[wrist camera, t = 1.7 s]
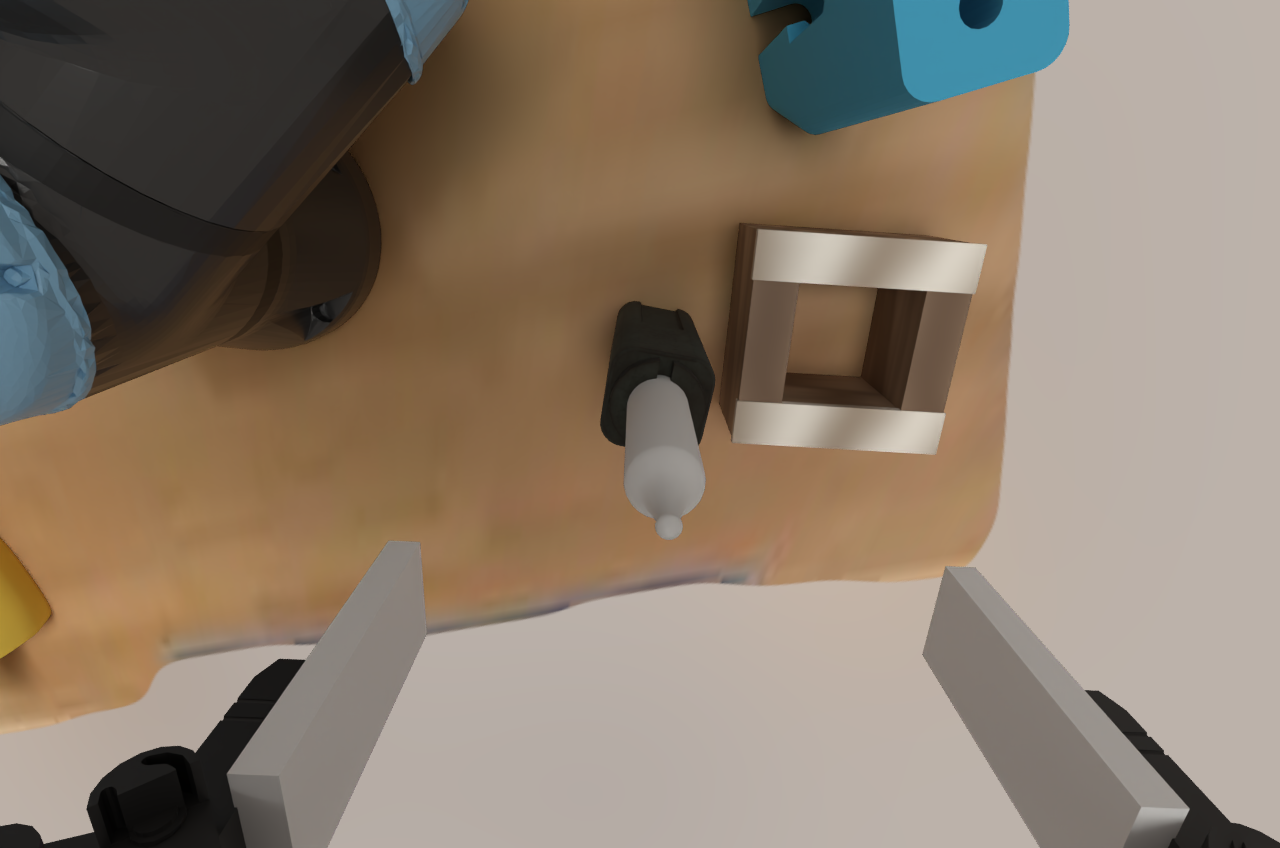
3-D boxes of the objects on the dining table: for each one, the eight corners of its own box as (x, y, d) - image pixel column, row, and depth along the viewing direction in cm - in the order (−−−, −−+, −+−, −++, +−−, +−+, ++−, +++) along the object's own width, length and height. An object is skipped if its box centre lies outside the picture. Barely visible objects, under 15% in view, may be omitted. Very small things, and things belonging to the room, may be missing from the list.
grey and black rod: (697, 312, 42) (772, 472, 19) (680, 385, 44) (731, 614, 20) (620, 297, 42) (600, 442, 18) (607, 371, 43) (573, 589, 20)
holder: (717, 404, 44) (732, 442, 38) (738, 222, 40) (758, 229, 33) (891, 414, 45) (935, 454, 38) (929, 235, 40) (987, 244, 34)
